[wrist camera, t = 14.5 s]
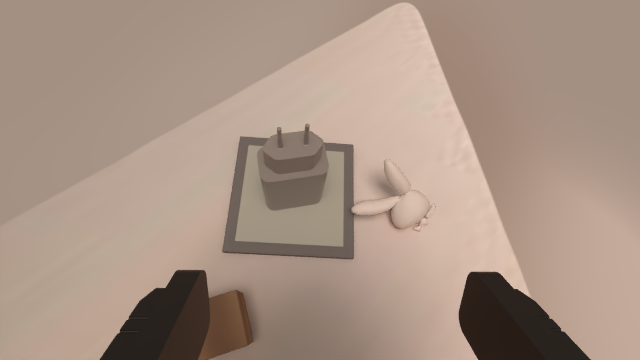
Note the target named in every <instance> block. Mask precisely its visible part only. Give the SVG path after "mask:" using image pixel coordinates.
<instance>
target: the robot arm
mask: <svg viewBox="0 0 640 360" xmlns="http://www.w3.org/2000/svg"><path fill="white" fill-rule="evenodd" d="M459 322H460V327H461V330H462V332H463V334H464V336H465V337H466V339H467V341H468V343H469V344H470V346H471V348H472V350H473V351H474V353H475V355H476V357H477V358H478V360H590V359H589V358H588V357H587V355H586V354H585V353H584V352H583V351H582V350H581V349H580V348H579V347H578V346H577V345H576V344H575V343H574V342H573V341H572V340H571V339H570V337H569V336H568V335H567V334H566V333H565V332H562V331H561V328H560V327H559V326H558V325H557V324H556V323H555V322H554V321H553V320H552V319H550V318H549V315H548V314H547V313H546V312H545V311H544V310H543V309H542V308H541V307H540V306H539V305H538V304H537V303H536V302H535V301H534V300H532V299H531V298H530V297H528V296H527V295H525V294H524V293H522V292H521V291H519V290H518V289H513V287H512V286H511V285H510V284H509V283H508V282H507V281H506V280H505V279H504V277H503V276H502V275H501V274H499V273H498V272H471V273H469V275H468V277H467V280H466V284H465V288H464V293H463V297H462V301H461V305H460V309H459ZM209 324H210V304H209V295H208V286H207V277H206V273H205V271H204V270H177V271H176V272H175V273H174V275H173V277H172V278H171V280H170V282H169V283H168V285H167V286H166V288H156V289H154V290H153V291H152V292H151V293H149V294H148V295H147V296H146V297H144V298H143V299H142V300H140V301H139V303H138V304H137V306H136V307H135V309H134V310H133V312H132V313H131V315H130V316H129V320H126V322H125V323H124V325H123V326H122V328H121V329H120V333H119V334H117V335H116V336H115V338H114V339H113V341H112V342H111V344H110V345H109V347H108V348H107V350H106V351H105V353H104V354H103V356H102V357H101V358H100V360H198V358H199V356H200V353H201V350H202V347H203V344H204V342H205V339H206V336H207V333H208V329H209Z"/></svg>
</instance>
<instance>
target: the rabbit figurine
mask: <svg viewBox="0 0 640 360" xmlns="http://www.w3.org/2000/svg"><path fill="white" fill-rule="evenodd" d="M384 171H385V175H386V177H387V179H388V181H389V182H390V184H391V185H392V186H393V187H394V188H395V189H396V190H398V191H399V192H400V193H403V195H401V196H400V197H399V196H392V197H388V198H385V199H378V200H369V201H363V202H360V203H358V204H356V205H354V206H353V207H352V209H351V212H352V213H354V214H356V215H367V216H368V215H376V214H380V213H383V212H385V211H388V210H389V209H391V208H392V211H391V218H392V222H393V224H394V225H395V226H396V227H397V228H400V229H403V228H408V227H410V226H412V225H414V224H418V223H419V221H420V224H419V226H416V227H415V228H413V229H414V230H416V231H420V230H421V226H424V225H427V224H428V221H427V219H426V218H430V217H431V215H432V214H433V212H434V211H435V208H436V206H435V205H434V204H432V206H431V208H430V203H429V200H428V199H427V198H426V196H425V195H423V194H422V193H421V192H419V191H416V190H411V191H410V189H411V185H410V182H409V181H408V179H407V178H406V176H405V175H404V174H403V172H402V171H401V170H400V169H399V167H398V166H397V165H396V164H395V163H394V162H393V161H391V160H390V159H386V160H385V161H384ZM429 208H430V209H429ZM424 216H425V217H426V218H423V217H424Z"/></svg>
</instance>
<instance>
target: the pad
mask: <svg viewBox="0 0 640 360" xmlns="http://www.w3.org/2000/svg"><path fill="white" fill-rule="evenodd" d="M267 140H268V138H254V137H241V136H240V142H239V148H238V154H237V161H236V167H235V174H234V180H233V186H232V193H231V199H230V206H229V212H228V218H227V225H226V231H225V238H224V244H223V250H222V252H224V253H241V254H261V255H280V256H300V257H319V258H339V259H353V258H354V213H352V212H351V209H352V207H353V206H354V201H353V145H350V144H336V143H323V144H324V146H325V150H326V154H327V158H328V163H329V169H328V173H327V177H326V181H325V185H324V189H323V193H322V197H321V200H320V202H319V203H317V204H314V205H307V206H301V207H295V208H288V209H282V210H276V211H273V210H270V209H269V208H268V207H267V205H266V201H265V197H264V192H263V188H262V184H261V179H260V175H259V168H258V161H257V152H258V150H259V149H260V148H262V147H263V146H264V144H265V143H266V142H267Z"/></svg>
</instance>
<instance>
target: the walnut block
mask: <svg viewBox="0 0 640 360" xmlns="http://www.w3.org/2000/svg"><path fill="white" fill-rule="evenodd" d="M209 304H210V324H209V329H208V333H207V336H206V339H205V342H204V344H203V347H202V350H201V353H200V356H199V358H198V360H208V359H210V358H213V357H216V356H219V355H222V354H225V353H227V352H230V351H233V350H236V349H239V348H242V347H244V346H247V345H249V344H250V343H252V342H253V337H252V332H251V328H250V323H249V319H248V314H247V310H246V305H245V300H244V296H243V293H241V292H239V291H237V290H234V291H231V292H228V293H225V294H222V295H219V296H216V297H212V298H209Z"/></svg>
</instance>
